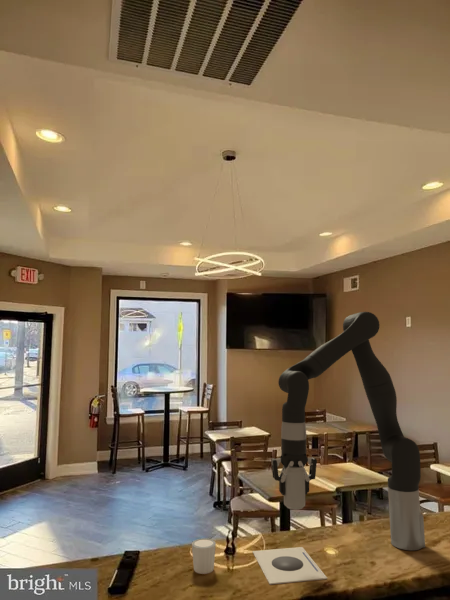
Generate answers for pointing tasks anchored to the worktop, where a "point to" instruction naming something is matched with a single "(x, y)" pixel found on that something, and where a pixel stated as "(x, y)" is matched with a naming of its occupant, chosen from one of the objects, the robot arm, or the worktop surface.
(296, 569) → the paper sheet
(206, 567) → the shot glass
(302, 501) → the beverage can
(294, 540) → the worktop surface
